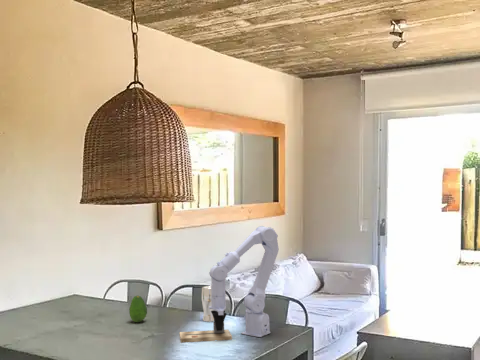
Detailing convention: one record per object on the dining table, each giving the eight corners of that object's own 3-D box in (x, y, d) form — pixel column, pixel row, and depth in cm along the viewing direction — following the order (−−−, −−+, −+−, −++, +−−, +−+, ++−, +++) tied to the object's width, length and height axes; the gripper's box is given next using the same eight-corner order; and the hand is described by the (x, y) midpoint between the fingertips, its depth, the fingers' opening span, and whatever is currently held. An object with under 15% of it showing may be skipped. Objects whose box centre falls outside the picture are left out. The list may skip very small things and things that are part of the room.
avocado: (126, 323, 243) (126, 296, 244) (133, 319, 251) (133, 293, 251) (143, 324, 242) (142, 297, 242) (150, 320, 249) (149, 294, 249)
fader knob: (223, 331, 221) (223, 321, 221) (224, 332, 219) (224, 322, 219) (213, 331, 221) (213, 321, 221) (214, 333, 218) (214, 323, 218)
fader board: (228, 333, 225) (228, 329, 225) (231, 339, 215) (231, 335, 215) (179, 335, 222) (179, 331, 222) (180, 342, 212) (180, 338, 212)
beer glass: (198, 321, 247) (198, 287, 247) (206, 317, 253) (206, 285, 253) (212, 322, 243) (211, 289, 244) (219, 319, 250) (219, 286, 250)
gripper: (206, 292, 226) (206, 325, 226) (210, 299, 212) (211, 334, 212) (223, 291, 228) (223, 324, 227) (228, 298, 213) (228, 333, 213)
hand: (218, 329), depth 220 cm, fingers open, 3 cm apart
